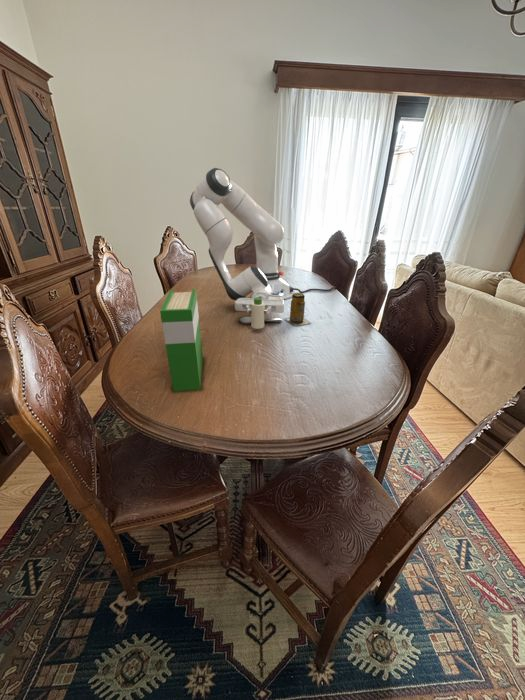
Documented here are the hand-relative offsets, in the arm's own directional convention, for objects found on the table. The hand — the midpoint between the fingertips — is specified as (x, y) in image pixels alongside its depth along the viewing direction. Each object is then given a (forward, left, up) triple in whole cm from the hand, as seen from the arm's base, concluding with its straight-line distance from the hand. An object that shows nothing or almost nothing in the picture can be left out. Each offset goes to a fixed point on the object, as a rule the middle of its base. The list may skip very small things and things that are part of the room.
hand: (257, 312), depth 111 cm
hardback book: (+34, +15, -9) cm, 38 cm away
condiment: (-21, -1, -9) cm, 23 cm away
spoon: (-7, -9, -9) cm, 15 cm away
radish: (-1, -1, -6) cm, 6 cm away
